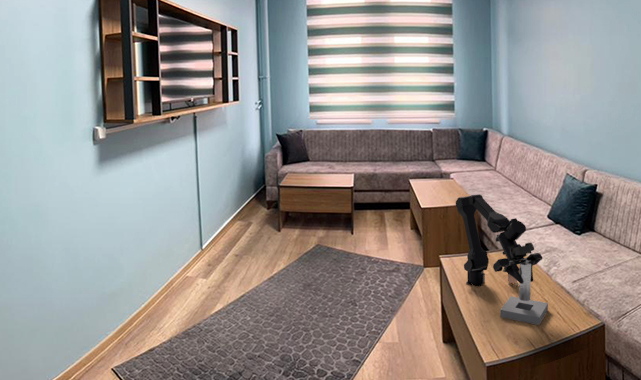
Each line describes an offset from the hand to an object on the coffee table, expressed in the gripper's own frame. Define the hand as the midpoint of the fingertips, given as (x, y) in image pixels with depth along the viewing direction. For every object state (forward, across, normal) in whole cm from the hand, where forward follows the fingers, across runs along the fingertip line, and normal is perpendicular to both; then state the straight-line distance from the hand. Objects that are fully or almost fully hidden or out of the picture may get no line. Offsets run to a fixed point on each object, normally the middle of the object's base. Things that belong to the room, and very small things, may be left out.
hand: (527, 282), depth 193 cm
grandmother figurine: (-10, +13, +29) cm, 34 cm away
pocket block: (+8, 0, +10) cm, 13 cm away
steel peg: (+4, 0, +6) cm, 7 cm away
